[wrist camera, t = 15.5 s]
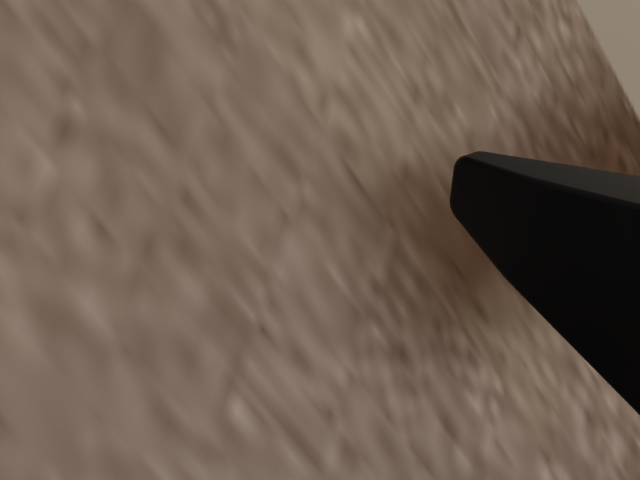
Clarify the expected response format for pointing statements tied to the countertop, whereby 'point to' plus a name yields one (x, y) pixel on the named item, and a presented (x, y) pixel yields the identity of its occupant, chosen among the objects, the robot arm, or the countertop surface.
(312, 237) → the countertop surface
